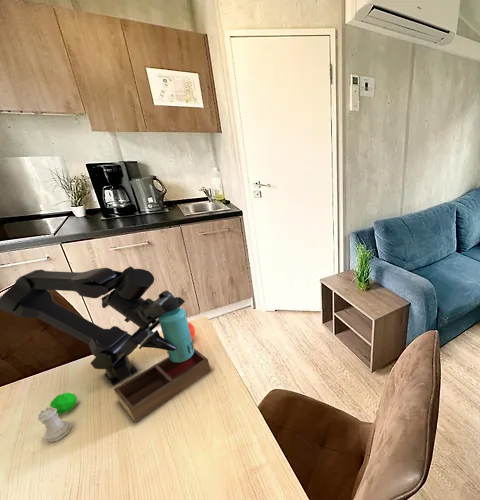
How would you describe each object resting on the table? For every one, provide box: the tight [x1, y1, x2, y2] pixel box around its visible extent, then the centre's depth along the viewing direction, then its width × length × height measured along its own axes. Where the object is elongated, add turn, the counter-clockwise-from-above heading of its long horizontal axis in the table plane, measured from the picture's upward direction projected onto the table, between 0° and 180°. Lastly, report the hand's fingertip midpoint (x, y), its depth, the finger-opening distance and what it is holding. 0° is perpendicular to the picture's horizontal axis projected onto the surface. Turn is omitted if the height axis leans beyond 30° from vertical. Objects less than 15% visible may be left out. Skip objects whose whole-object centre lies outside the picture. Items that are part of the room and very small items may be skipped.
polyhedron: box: [49, 392, 78, 415], centre depth 74 cm, size 5×5×5 cm
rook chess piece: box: [37, 406, 72, 443], centre depth 68 cm, size 4×4×8 cm
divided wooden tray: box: [113, 348, 212, 424], centre depth 81 cm, size 11×20×5 cm, turn 146°
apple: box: [187, 321, 196, 341], centre depth 97 cm, size 8×8×8 cm
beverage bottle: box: [157, 296, 195, 362], centre depth 78 cm, size 6×7×20 cm
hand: (181, 342), depth 79 cm, fingers closed on beverage bottle, 5 cm apart
